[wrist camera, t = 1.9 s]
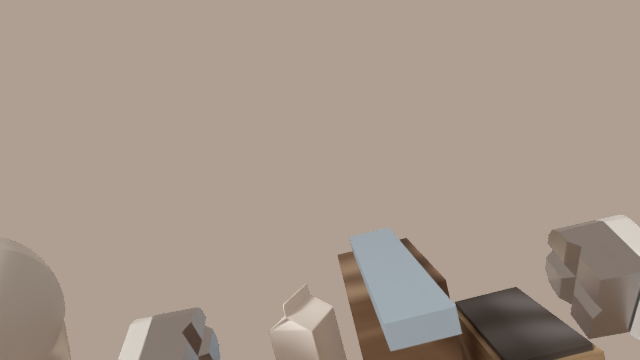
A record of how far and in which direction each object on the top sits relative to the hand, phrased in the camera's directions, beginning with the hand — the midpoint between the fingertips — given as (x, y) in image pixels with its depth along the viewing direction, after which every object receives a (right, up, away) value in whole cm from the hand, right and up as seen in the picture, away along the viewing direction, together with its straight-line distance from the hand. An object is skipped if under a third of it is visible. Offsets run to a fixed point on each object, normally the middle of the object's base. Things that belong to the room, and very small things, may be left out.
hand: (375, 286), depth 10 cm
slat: (+5, -6, +27) cm, 28 cm away
